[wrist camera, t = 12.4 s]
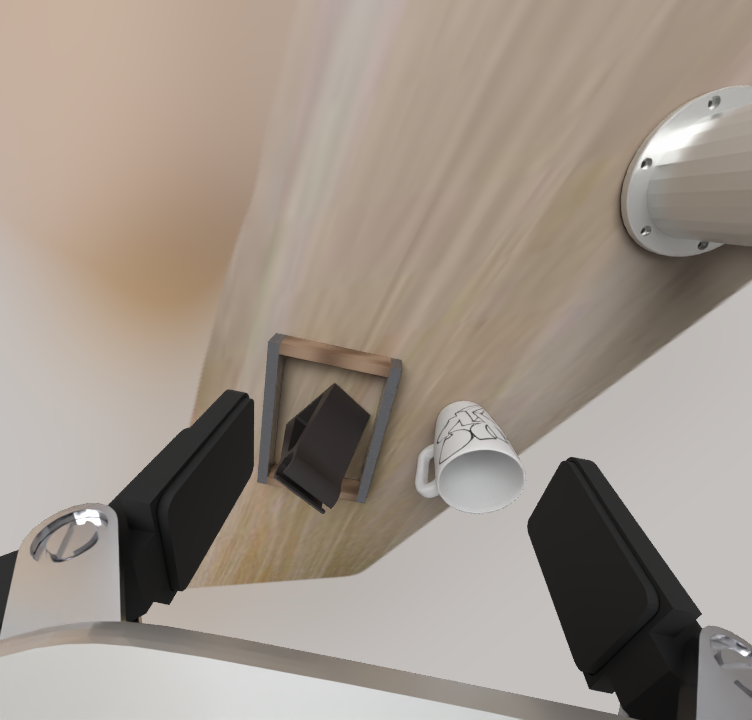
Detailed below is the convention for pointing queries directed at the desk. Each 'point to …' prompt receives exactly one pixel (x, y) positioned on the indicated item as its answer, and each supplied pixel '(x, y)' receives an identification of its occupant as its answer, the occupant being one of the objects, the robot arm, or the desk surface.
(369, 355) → the wooden frame
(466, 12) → the desk surface
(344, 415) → the phone stand
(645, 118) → the desk surface
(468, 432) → the mug
